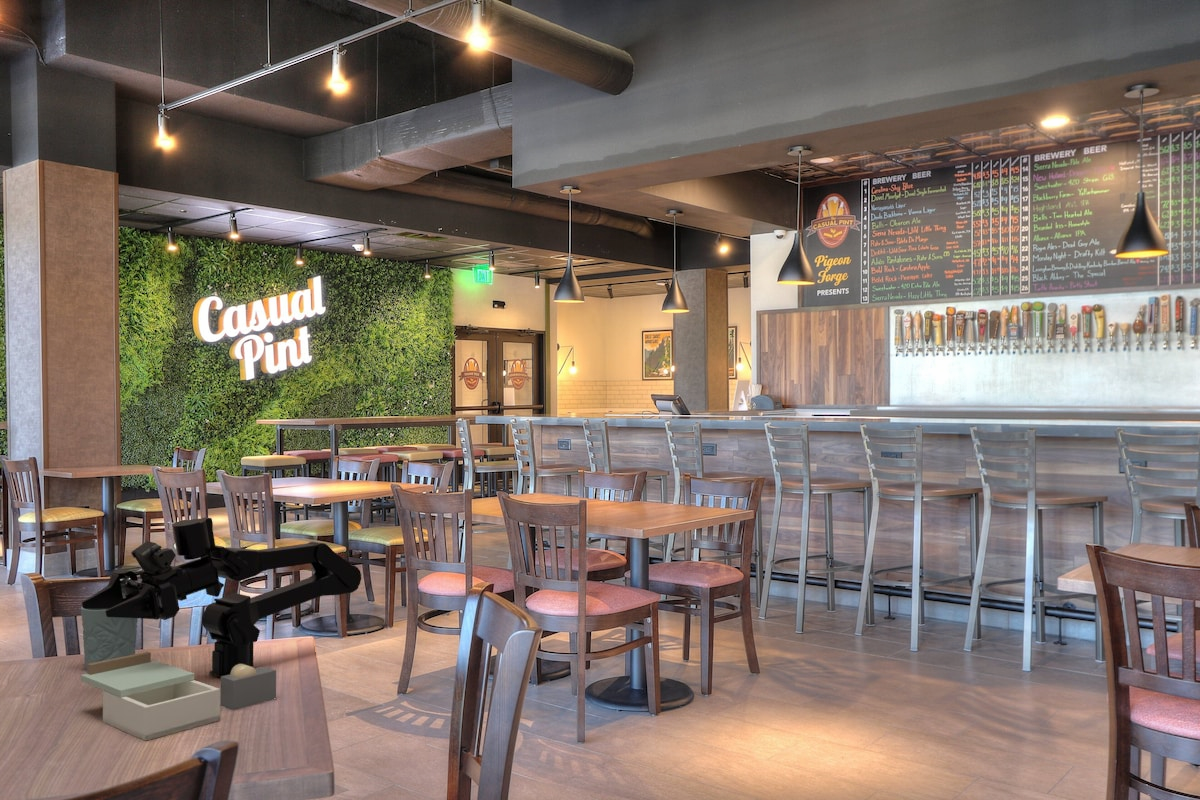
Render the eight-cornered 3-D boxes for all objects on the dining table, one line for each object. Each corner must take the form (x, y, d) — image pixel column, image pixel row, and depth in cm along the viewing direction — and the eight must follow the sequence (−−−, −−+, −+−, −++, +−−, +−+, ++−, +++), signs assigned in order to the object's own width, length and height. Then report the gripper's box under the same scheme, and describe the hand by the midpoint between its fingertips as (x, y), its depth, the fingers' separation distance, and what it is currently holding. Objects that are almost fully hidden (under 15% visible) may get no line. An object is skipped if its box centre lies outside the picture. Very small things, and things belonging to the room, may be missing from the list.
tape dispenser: (262, 694, 163) (263, 657, 163) (276, 699, 161) (276, 661, 161) (220, 706, 157) (220, 667, 157) (233, 711, 154) (233, 671, 155)
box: (175, 703, 158) (176, 673, 158) (220, 720, 149) (220, 688, 149) (102, 721, 149) (103, 690, 149) (145, 741, 140) (145, 707, 140)
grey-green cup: (79, 675, 175) (79, 611, 175) (81, 662, 184) (81, 602, 184) (139, 668, 179) (140, 606, 179) (138, 656, 188) (138, 597, 188)
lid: (152, 665, 163) (153, 650, 163) (194, 679, 154) (194, 663, 154) (80, 681, 154) (80, 665, 154) (120, 697, 145) (120, 680, 145)
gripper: (151, 532, 173) (62, 557, 161) (202, 543, 162) (110, 571, 150) (161, 589, 175) (73, 617, 163) (212, 604, 163) (122, 636, 151)
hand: (94, 609), depth 157 cm, fingers open, 9 cm apart
